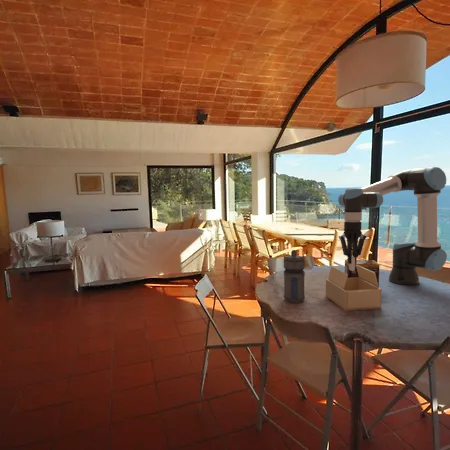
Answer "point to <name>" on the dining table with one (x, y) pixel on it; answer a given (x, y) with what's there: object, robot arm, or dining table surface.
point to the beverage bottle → (294, 278)
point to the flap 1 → (338, 276)
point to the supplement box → (366, 264)
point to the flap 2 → (367, 275)
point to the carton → (354, 294)
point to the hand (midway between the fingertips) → (351, 270)
